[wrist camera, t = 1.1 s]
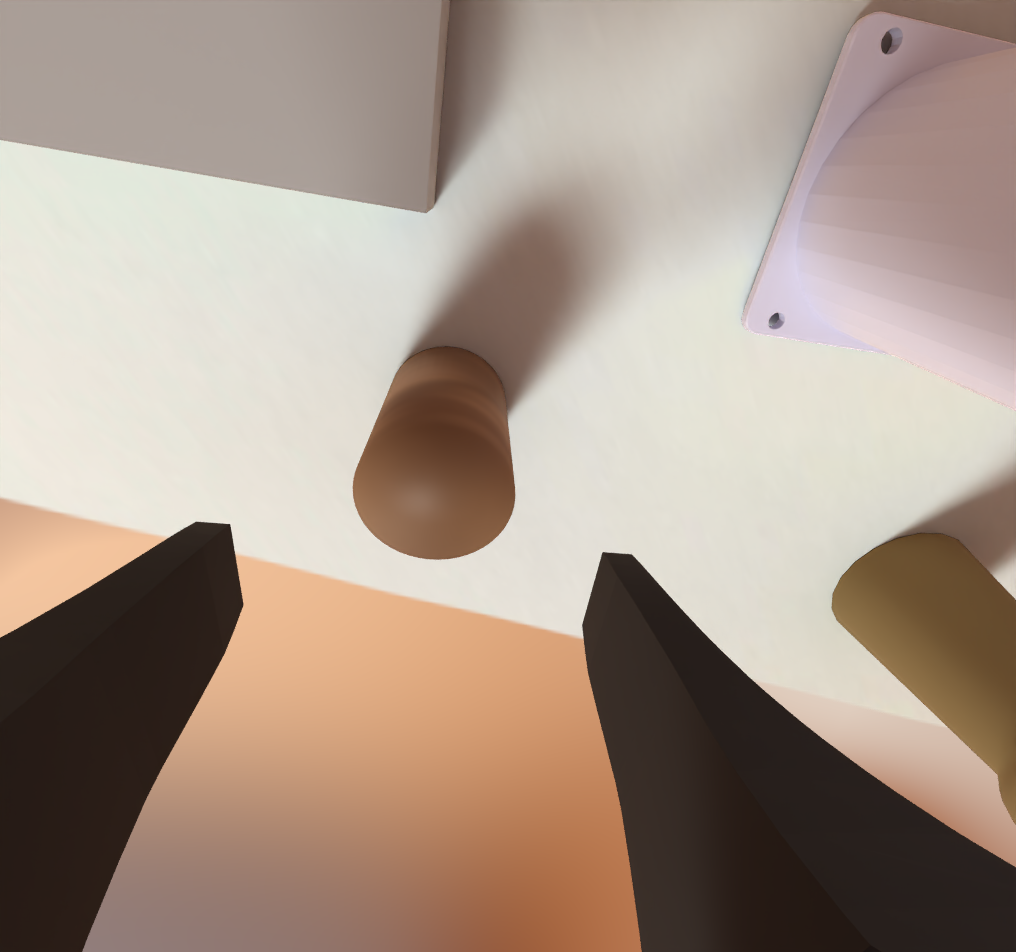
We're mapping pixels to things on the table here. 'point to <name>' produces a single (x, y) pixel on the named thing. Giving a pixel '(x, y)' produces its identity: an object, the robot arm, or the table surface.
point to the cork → (941, 639)
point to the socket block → (236, 89)
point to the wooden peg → (438, 458)
